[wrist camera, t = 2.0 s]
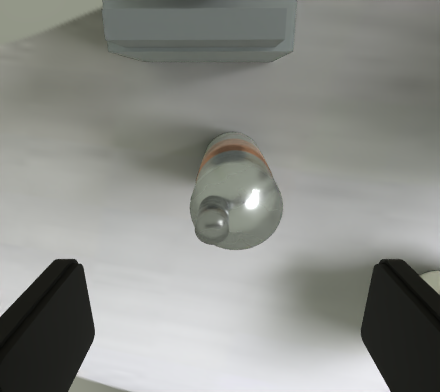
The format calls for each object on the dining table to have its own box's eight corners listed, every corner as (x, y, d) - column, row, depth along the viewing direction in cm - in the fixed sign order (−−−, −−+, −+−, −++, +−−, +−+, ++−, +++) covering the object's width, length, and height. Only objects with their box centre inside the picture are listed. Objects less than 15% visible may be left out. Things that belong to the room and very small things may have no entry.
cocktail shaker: (262, 131, 26) (297, 177, 13) (260, 188, 27) (288, 276, 15) (203, 131, 26) (180, 176, 13) (204, 188, 27) (185, 275, 15)
